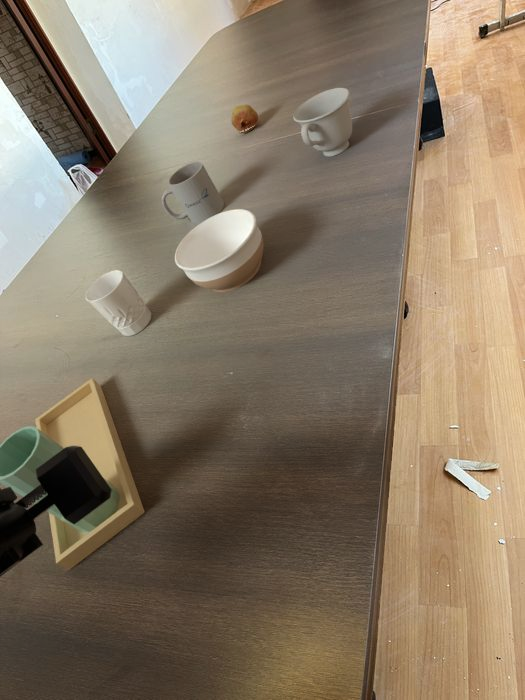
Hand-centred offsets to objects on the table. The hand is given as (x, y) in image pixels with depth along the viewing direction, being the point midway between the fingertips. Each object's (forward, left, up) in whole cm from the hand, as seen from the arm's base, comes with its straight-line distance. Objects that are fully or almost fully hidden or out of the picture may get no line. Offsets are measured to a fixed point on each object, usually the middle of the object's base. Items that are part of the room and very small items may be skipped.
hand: (47, 512), depth 53 cm
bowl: (+51, +1, -11) cm, 52 cm away
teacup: (+86, -11, -11) cm, 87 cm away
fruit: (+112, +19, -11) cm, 114 cm away
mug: (+74, +19, -11) cm, 77 cm away
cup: (+5, +5, -10) cm, 12 cm away
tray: (+11, +12, -11) cm, 20 cm away
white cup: (+40, +19, -11) cm, 46 cm away
